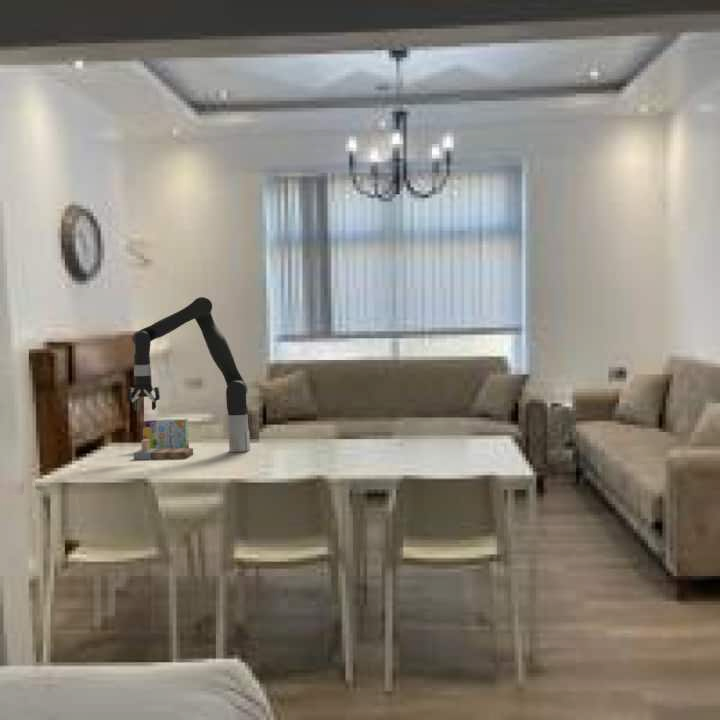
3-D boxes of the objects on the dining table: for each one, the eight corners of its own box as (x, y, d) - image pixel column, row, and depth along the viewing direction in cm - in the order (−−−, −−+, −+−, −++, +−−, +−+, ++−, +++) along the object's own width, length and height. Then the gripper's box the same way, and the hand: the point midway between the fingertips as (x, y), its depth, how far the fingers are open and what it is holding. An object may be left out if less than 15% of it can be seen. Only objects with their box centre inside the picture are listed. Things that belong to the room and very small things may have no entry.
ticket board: (193, 454, 426) (192, 447, 426) (186, 458, 414) (186, 451, 414) (159, 455, 427) (158, 448, 427) (151, 459, 415) (151, 452, 415)
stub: (158, 454, 427) (157, 437, 426) (151, 459, 415) (150, 441, 415) (141, 455, 427) (140, 438, 427) (133, 459, 415) (132, 441, 415)
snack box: (189, 449, 445) (188, 418, 444) (186, 450, 439) (185, 419, 438) (147, 449, 447) (145, 419, 446) (143, 451, 441) (141, 420, 440)
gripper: (160, 373, 423) (161, 408, 423) (130, 374, 424) (131, 409, 424) (155, 374, 415) (157, 410, 416) (124, 375, 416) (126, 411, 417)
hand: (144, 410), depth 420 cm, fingers open, 8 cm apart
